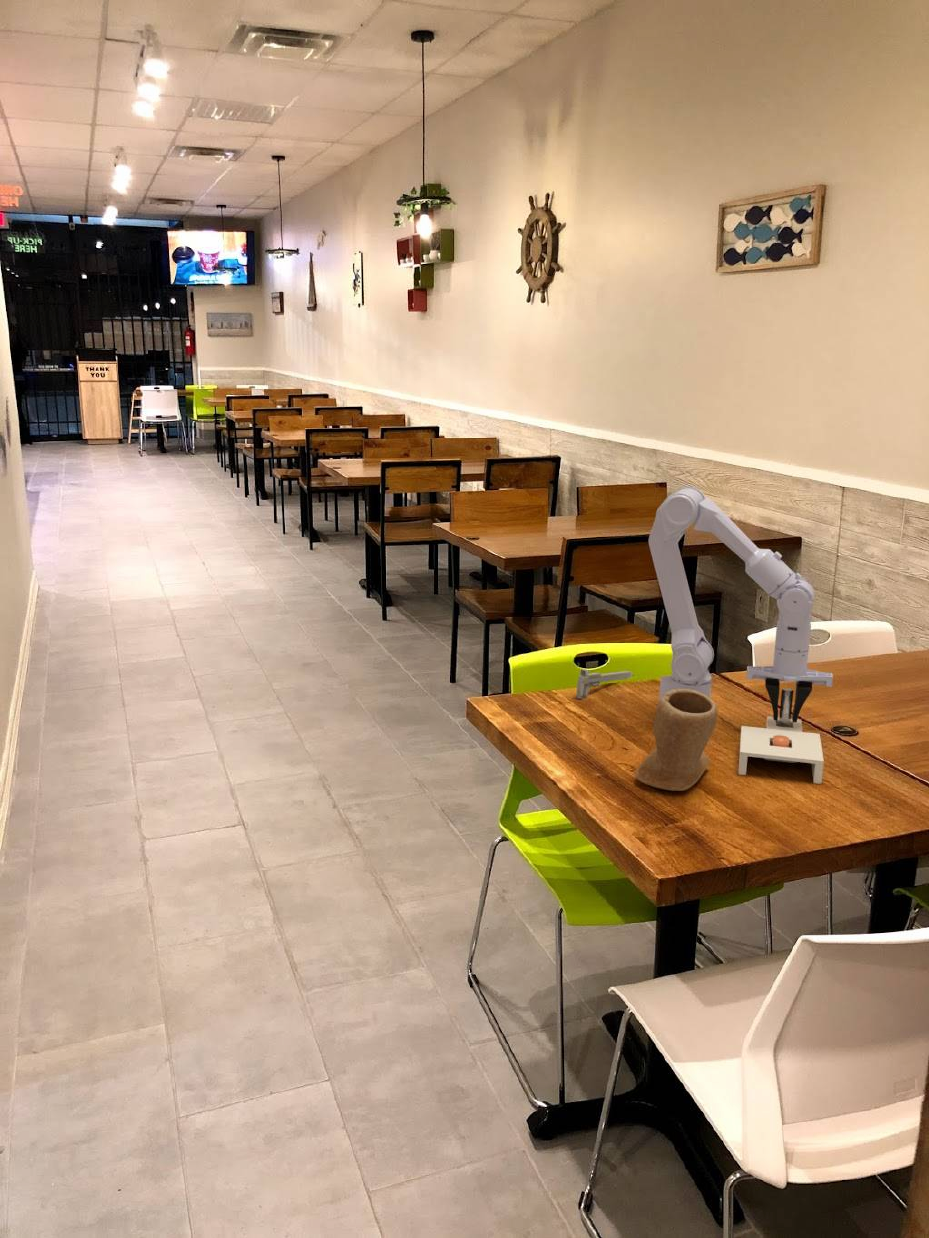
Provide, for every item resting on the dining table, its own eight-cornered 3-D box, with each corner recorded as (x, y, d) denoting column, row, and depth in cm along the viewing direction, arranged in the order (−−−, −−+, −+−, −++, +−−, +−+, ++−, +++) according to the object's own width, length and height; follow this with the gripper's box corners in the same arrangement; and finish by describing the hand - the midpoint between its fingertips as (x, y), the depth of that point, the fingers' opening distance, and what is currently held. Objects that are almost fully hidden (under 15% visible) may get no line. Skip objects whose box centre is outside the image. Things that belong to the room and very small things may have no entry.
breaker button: (764, 759, 162) (766, 742, 161) (764, 748, 166) (766, 731, 165) (794, 763, 160) (796, 745, 159) (794, 751, 165) (795, 734, 164)
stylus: (777, 738, 175) (781, 691, 172) (777, 734, 176) (781, 687, 174) (789, 739, 174) (793, 692, 172) (788, 735, 176) (793, 689, 174)
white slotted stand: (738, 774, 160) (740, 751, 159) (739, 746, 171) (741, 725, 170) (821, 783, 156) (823, 761, 155) (817, 755, 167) (819, 733, 166)
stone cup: (698, 804, 150) (704, 713, 145) (626, 786, 156) (630, 699, 152) (727, 769, 162) (734, 685, 158) (660, 754, 168) (664, 672, 164)
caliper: (580, 701, 194) (581, 672, 192) (576, 700, 195) (577, 671, 193) (633, 676, 209) (635, 649, 207) (629, 675, 209) (630, 648, 208)
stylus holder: (766, 741, 173) (767, 728, 173) (765, 729, 179) (767, 716, 178) (801, 744, 172) (802, 731, 171) (800, 732, 177) (801, 719, 177)
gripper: (748, 650, 169) (743, 722, 173) (836, 657, 165) (828, 731, 169) (749, 639, 176) (743, 709, 179) (833, 646, 172) (826, 717, 175)
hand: (784, 719), depth 174 cm, fingers open, 3 cm apart
